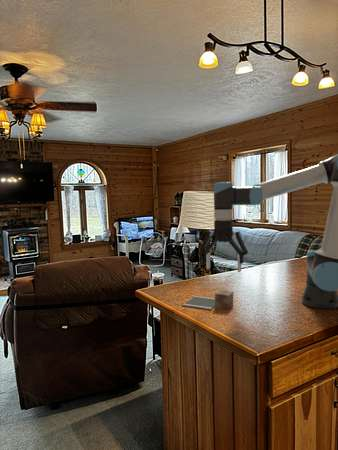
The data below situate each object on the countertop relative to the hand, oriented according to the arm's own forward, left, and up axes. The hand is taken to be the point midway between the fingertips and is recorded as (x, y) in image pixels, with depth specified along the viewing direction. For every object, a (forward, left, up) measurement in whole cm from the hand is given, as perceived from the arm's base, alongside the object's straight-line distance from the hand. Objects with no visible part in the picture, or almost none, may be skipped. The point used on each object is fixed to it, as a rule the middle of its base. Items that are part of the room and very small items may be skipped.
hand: (223, 269), depth 142 cm
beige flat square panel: (0, 0, -16) cm, 16 cm away
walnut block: (0, 0, -16) cm, 16 cm away
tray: (+10, 0, -16) cm, 19 cm away
